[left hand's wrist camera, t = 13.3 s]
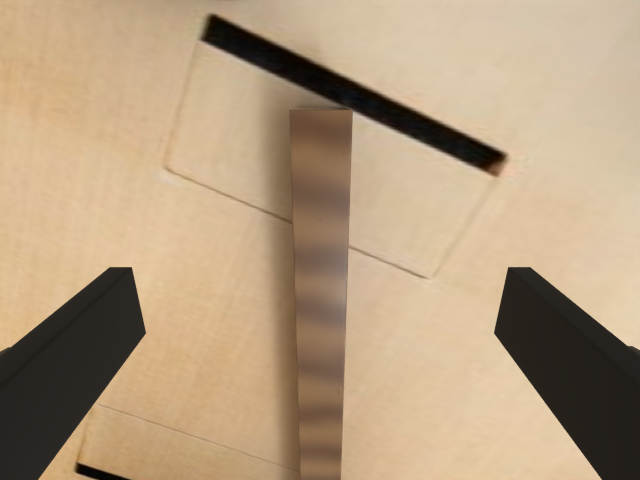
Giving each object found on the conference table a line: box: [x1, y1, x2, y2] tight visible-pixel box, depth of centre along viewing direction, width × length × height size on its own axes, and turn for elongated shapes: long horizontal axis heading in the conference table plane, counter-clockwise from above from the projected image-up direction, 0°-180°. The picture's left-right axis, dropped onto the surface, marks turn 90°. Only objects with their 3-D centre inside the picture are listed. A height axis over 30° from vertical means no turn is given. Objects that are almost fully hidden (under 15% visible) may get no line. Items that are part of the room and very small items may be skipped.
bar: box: [290, 107, 353, 480], centre depth 45 cm, size 74×5×8 cm, turn 0°
